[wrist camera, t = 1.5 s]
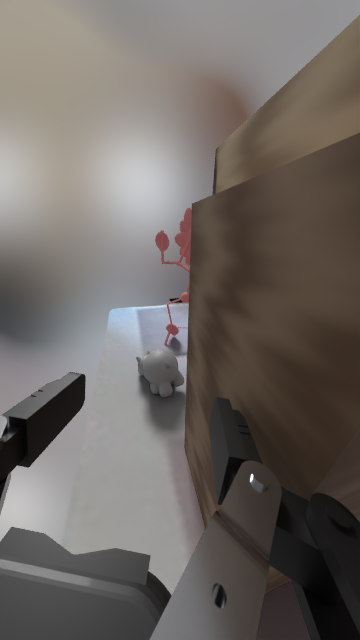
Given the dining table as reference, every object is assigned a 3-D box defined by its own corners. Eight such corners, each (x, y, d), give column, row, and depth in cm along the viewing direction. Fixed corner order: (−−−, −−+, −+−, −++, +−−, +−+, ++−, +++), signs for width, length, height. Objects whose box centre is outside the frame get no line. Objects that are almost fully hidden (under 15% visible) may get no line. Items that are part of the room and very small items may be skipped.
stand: (321, 564, 18) (829, 142, 4) (227, 613, 16) (657, 5, 2) (244, 430, 30) (302, 208, 16) (184, 447, 28) (191, 203, 14)
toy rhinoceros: (157, 373, 46) (147, 342, 45) (190, 382, 37) (180, 344, 36) (133, 388, 41) (121, 354, 40) (164, 403, 33) (151, 360, 31)
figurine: (211, 376, 41) (233, 194, 27) (146, 335, 58) (138, 208, 43) (243, 350, 51) (273, 206, 36) (180, 321, 68) (183, 214, 53)
